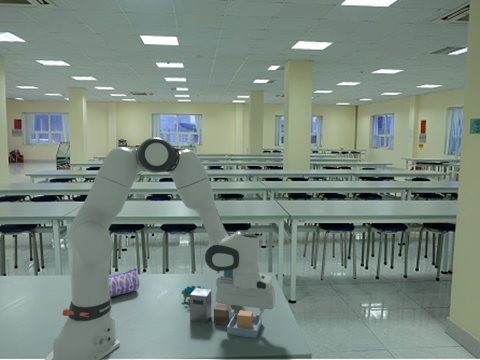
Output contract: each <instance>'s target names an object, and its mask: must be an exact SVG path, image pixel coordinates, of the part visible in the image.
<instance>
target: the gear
mask: <svg viewBox="0 0 480 360" xmlns="http://www.w3.org/2000/svg"><path fill="white" fill-rule="evenodd" d="M195 288H200V289H207V288H206V287H202V288H201V286H200V285H197V287H196V286H195V285H191V286H186V288H185V287H184V289H181V292H180V293H181V295H183V303H186V301H187V298H190V294H191V293H192V292H193V291H194V289H195Z"/></svg>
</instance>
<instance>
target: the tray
mask: <svg viewBox="0 0 480 360" xmlns="http://www.w3.org/2000/svg"><path fill="white" fill-rule="evenodd" d="M237 315H238V313H235V312H234V317H232V316H231V319H230V321H229V323H228V324H227V326H226V334H227V335H229V336H230V335H231V336H239V337H246V338H252V339H257V337H258V335H259V332H260V331H261V327H262V325H263V316H261V320H256V315H253V325H252V328H251V329H247V328H239V327H237Z"/></svg>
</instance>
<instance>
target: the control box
mask: <svg viewBox="0 0 480 360" xmlns="http://www.w3.org/2000/svg"><path fill="white" fill-rule="evenodd" d="M211 317H212V289H209V288H208V289H207V288H206V289H203V288H201V289H200V288H197V287H196V288H195V289H194V291H193V292H192V293H191V294H190V297H189V322H192V323H197V324H198V323H200V324H207V323H208V322H209V320H210V318H211Z"/></svg>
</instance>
